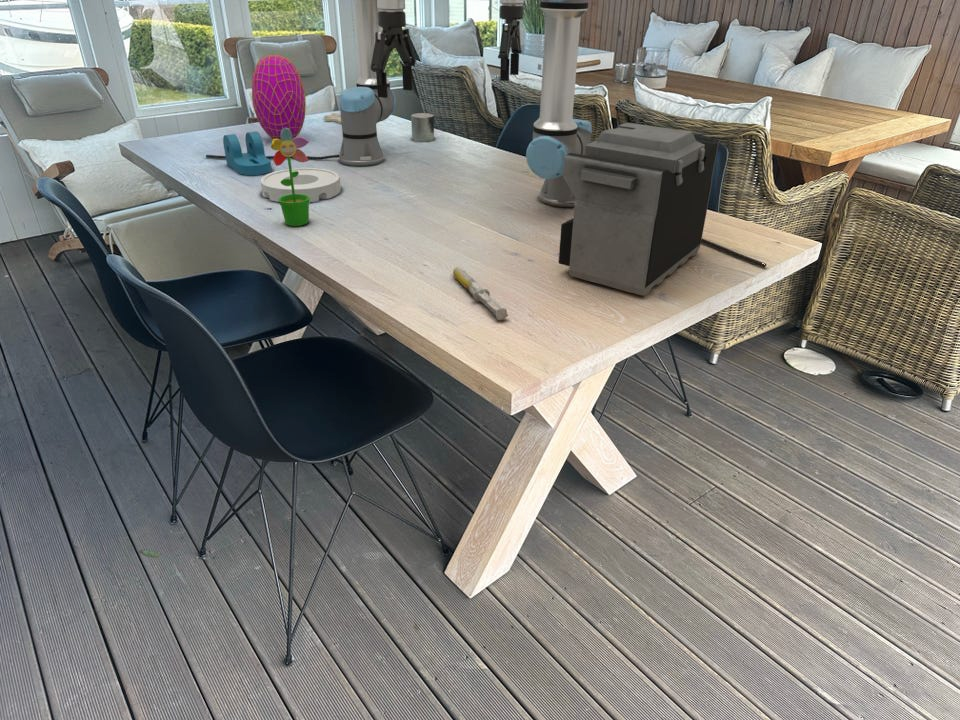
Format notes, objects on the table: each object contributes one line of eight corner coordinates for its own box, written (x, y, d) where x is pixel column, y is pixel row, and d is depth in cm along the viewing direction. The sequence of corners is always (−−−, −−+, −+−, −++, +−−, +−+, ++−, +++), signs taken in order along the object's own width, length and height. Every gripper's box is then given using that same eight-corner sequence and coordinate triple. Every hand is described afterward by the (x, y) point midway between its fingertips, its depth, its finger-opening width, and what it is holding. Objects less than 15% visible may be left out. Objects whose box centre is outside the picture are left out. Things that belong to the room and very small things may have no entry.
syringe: (449, 274, 155) (449, 263, 153) (465, 272, 156) (464, 260, 154) (490, 323, 135) (491, 310, 133) (508, 319, 136) (508, 307, 134)
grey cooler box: (622, 232, 180) (636, 112, 165) (704, 251, 169) (728, 124, 154) (550, 277, 154) (560, 140, 139) (641, 302, 143) (663, 157, 128)
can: (417, 136, 273) (416, 112, 269) (437, 137, 271) (437, 114, 266) (408, 140, 266) (407, 116, 262) (428, 142, 264) (428, 118, 259)
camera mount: (227, 164, 233) (221, 132, 227) (257, 160, 238) (252, 129, 233) (244, 176, 220) (239, 143, 215) (276, 172, 225) (271, 139, 220)
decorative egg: (293, 132, 276) (283, 50, 261) (319, 140, 264) (310, 56, 249) (249, 139, 265) (236, 54, 250) (273, 148, 253) (261, 60, 238)
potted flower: (284, 229, 179) (270, 130, 166) (277, 220, 185) (263, 124, 172) (319, 224, 183) (308, 127, 170) (311, 215, 188) (300, 121, 176)
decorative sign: (315, 115, 300) (335, 113, 305) (315, 118, 300) (335, 115, 306) (347, 125, 283) (368, 122, 288) (347, 128, 283) (368, 125, 289)
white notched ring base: (275, 179, 218) (273, 167, 216) (347, 181, 217) (346, 168, 215) (251, 202, 198) (249, 188, 196) (331, 204, 197) (330, 190, 195)
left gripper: (514, 7, 203) (511, 84, 214) (531, 3, 224) (528, 72, 235) (489, 6, 205) (488, 82, 216) (509, 2, 226) (507, 71, 236)
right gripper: (403, 7, 197) (406, 86, 208) (353, 12, 177) (360, 99, 188) (426, 8, 194) (428, 88, 205) (378, 13, 175) (383, 101, 185)
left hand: (509, 77), depth 225 cm, fingers open, 13 cm apart
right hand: (395, 93), depth 197 cm, fingers open, 13 cm apart
